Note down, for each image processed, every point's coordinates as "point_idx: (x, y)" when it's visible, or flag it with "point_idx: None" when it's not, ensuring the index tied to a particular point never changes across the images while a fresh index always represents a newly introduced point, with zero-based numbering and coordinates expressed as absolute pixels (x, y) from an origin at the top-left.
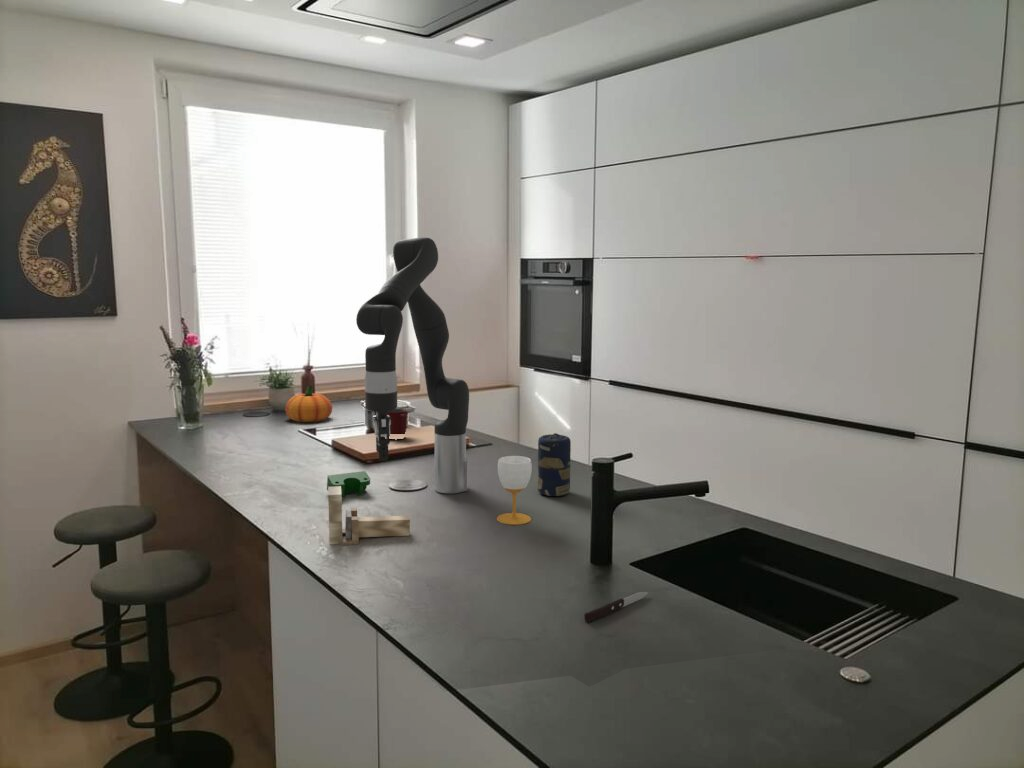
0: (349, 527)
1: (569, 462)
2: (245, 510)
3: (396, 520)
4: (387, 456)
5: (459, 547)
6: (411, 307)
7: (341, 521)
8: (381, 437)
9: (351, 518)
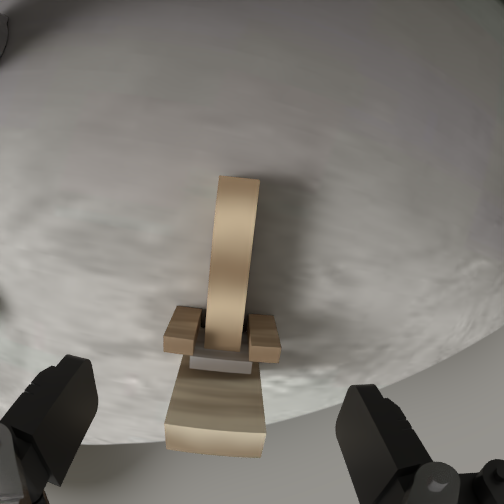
0: None
1: None
2: None
3: (254, 223)
4: (379, 401)
5: (376, 91)
6: None
7: (260, 380)
8: (43, 459)
9: (213, 348)
